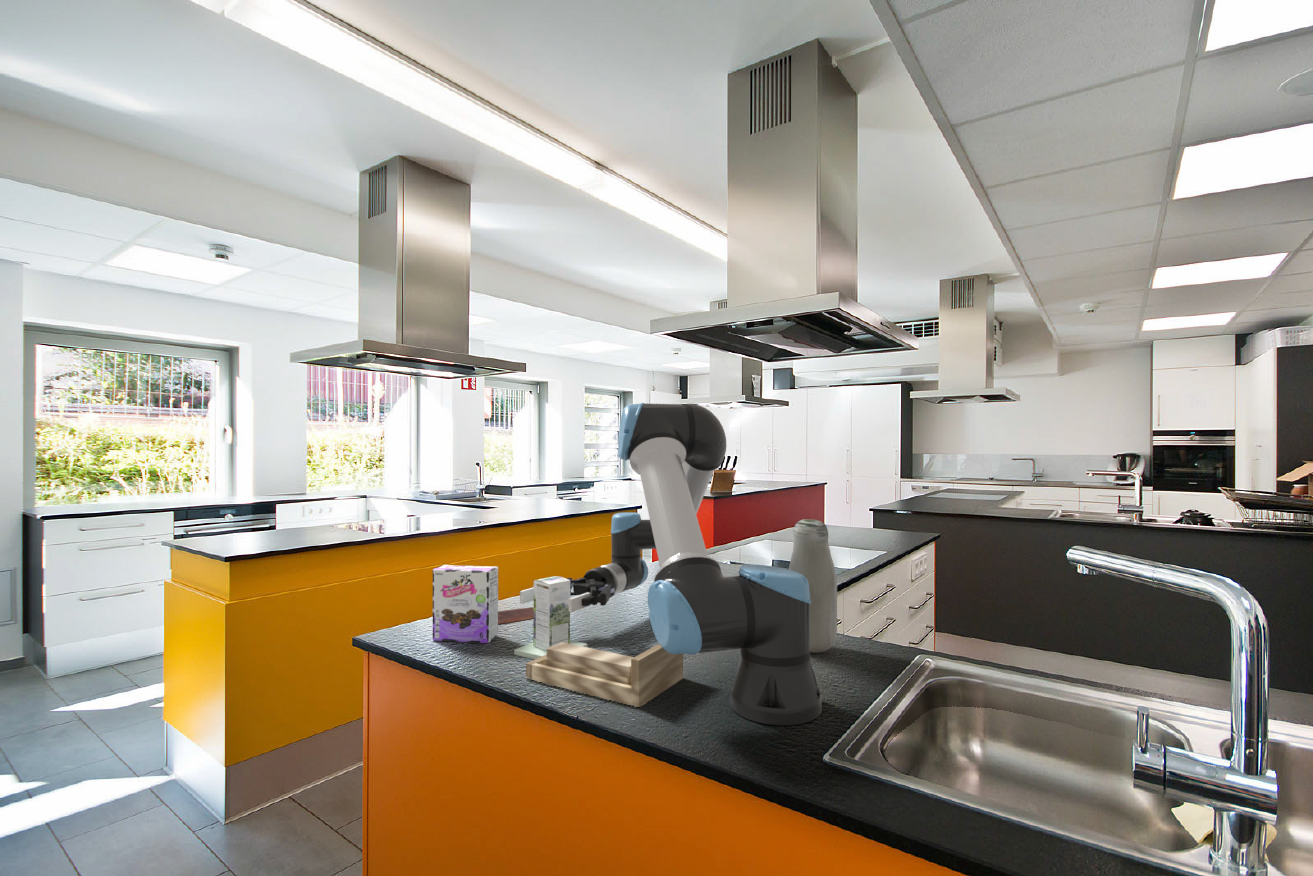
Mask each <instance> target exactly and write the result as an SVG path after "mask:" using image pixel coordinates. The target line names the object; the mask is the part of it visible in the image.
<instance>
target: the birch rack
mask: <svg viewBox="0 0 1313 876" xmlns="http://www.w3.org/2000/svg"><path fill="white" fill-rule="evenodd" d="M546 658H547V654H546V655H544V656H542V657H539V658H537V659H532V660H530V661H528V662H526V663H525V679H526V678H529V679H531V680H535V681H538V682H537V683H539V682H543V683H547V684H550V685H553V686H552V687H554V686H557V687H556V688H558V687H563V688H567V689H570V690H572V691H571V692H574V691H578V692H581V693H580V694H582V693H585V694H588V695H587V696H589V695H591V696H590V697H593V696H598V697H601V698H604V699H603V700H605V699H607V700H606V701H609V700H613V701H617V702H620V703H623V704H622V705H624V704H627V705H626V706H628V705H634V706H636V707H640V706H641V707H643V706H644V705H646V704H647V703H649V702H651V700H652V701H653V699H655V698H656V697H658V696H659V695H661V694H662V693H664V692H665V691H667V690H668V689H669V688H671V687H673V686H674V685H676V684H677V683H679V682H680V681H681V680H683V679H684V654H671V653H668V652H667V651H665V649H663V648H662V647H661V646H660V644H659V643H658V644H656V645H654V646H652V647H651V648H649V649H647V650H645V651H644V652H641V653H639V654H638V655H636V656H634V658H632V659H631V686H630V685H626V684H622V683H617V682H613V681H609V680H605V679H600V678H596V677H592V676H588V675H584V674H579V673H575V672H571V671H567V670H562V669H558V668H554V667H550V666H545V659H546ZM531 680H530V681H531ZM535 681H534V682H535ZM543 683H542V684H543ZM547 684H546V685H547ZM550 685H549V686H550ZM570 690H569V691H570ZM578 692H577V693H578ZM585 694H584V695H585ZM654 697H655V698H654ZM601 698H600V699H601ZM613 701H612V702H613ZM648 701H649V702H648ZM617 702H616V703H617ZM646 702H647V703H646ZM620 703H619V704H620ZM642 705H643V706H642ZM636 707H635V708H636ZM641 707H640V708H641Z"/></svg>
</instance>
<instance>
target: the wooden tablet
mask: <svg viewBox="0 0 1313 876" xmlns="http://www.w3.org/2000/svg"><path fill="white" fill-rule="evenodd" d="M533 618H534V606H531V607H522V608H515V609H507V610H500V611H499V610H498V626H499V625H504V624H511V623H516V622H522V621H528V620H533Z"/></svg>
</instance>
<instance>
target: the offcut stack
mask: <svg viewBox="0 0 1313 876" xmlns="http://www.w3.org/2000/svg"><path fill="white" fill-rule="evenodd" d="M634 657H635V656H634ZM634 657H633V656H630V655H625V654H620V653H615V652H610V651H606V650H600V649H596V648H591V647H588V648H587V647H582V646H578V645H573V644H568V643H563V642H561V643H559V644H557V645H554V646H552V647H550V648H547V658H546V659H545V666H550V667H554V668H558V669H562V670H567V671H571V672H575V673H579V674H584V675H588V676H592V677H596V678H600V679H605V680H609V681H613V682H617V683H622V684H626V685H630V686H631V659H632V658H634Z"/></svg>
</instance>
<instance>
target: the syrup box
mask: <svg viewBox="0 0 1313 876" xmlns="http://www.w3.org/2000/svg"><path fill="white" fill-rule="evenodd" d="M533 587H534V600H533V607H534V618H533V619H532V620H533V626H532V627H533V629H532V630H533V635H532V637H533V638H532V640H533V641H532V643H533V646H534V647H536V648H539V649H542V650H545V651H547V648H550V647H552V646H554V645H557V644H559V643H561V642H563V643H568V644H570V640H571V612H569V599H570V598H571V596H570V580H568V579H566V578H565V577H562V576H557V575H556V576H555V575H554V576H549V577H545V578H539V579H535V580H533Z"/></svg>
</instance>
